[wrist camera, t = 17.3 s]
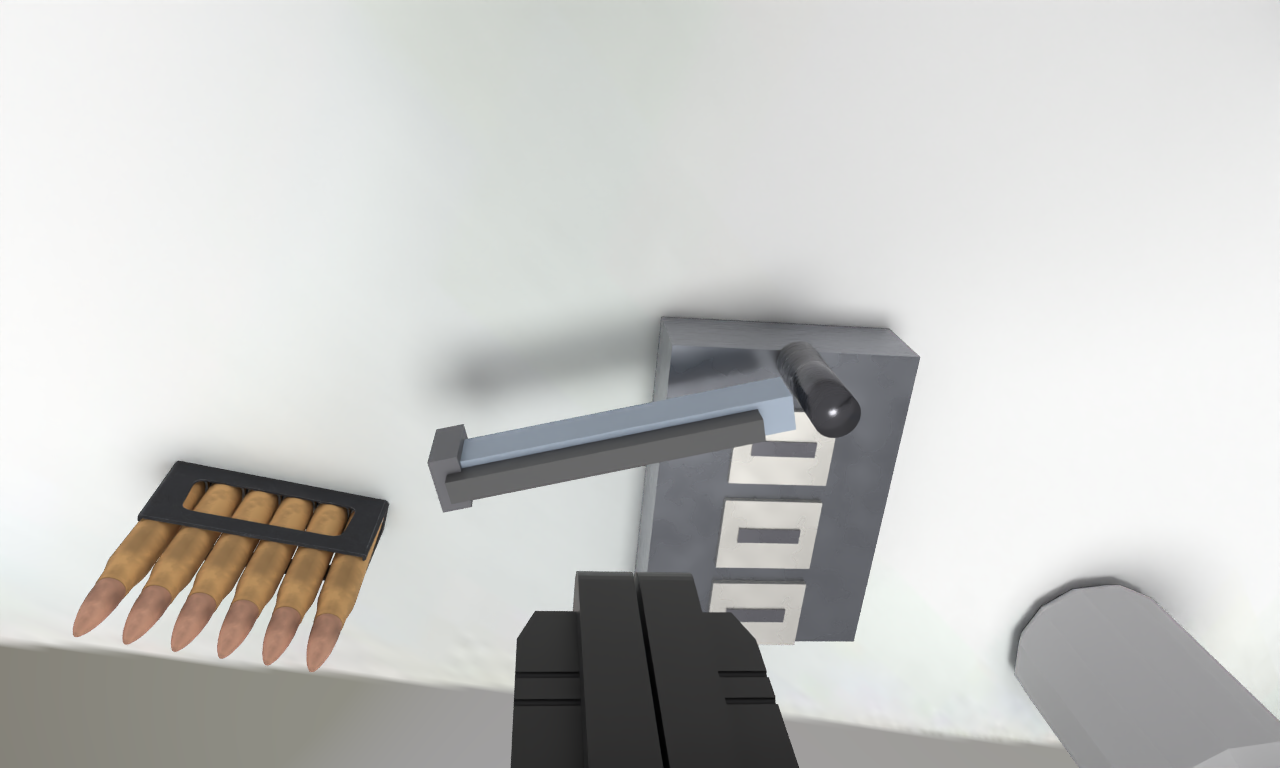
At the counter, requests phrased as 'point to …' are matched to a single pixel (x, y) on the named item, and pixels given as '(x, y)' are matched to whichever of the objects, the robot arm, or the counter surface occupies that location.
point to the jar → (1138, 687)
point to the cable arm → (606, 441)
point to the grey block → (781, 474)
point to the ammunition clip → (241, 559)
